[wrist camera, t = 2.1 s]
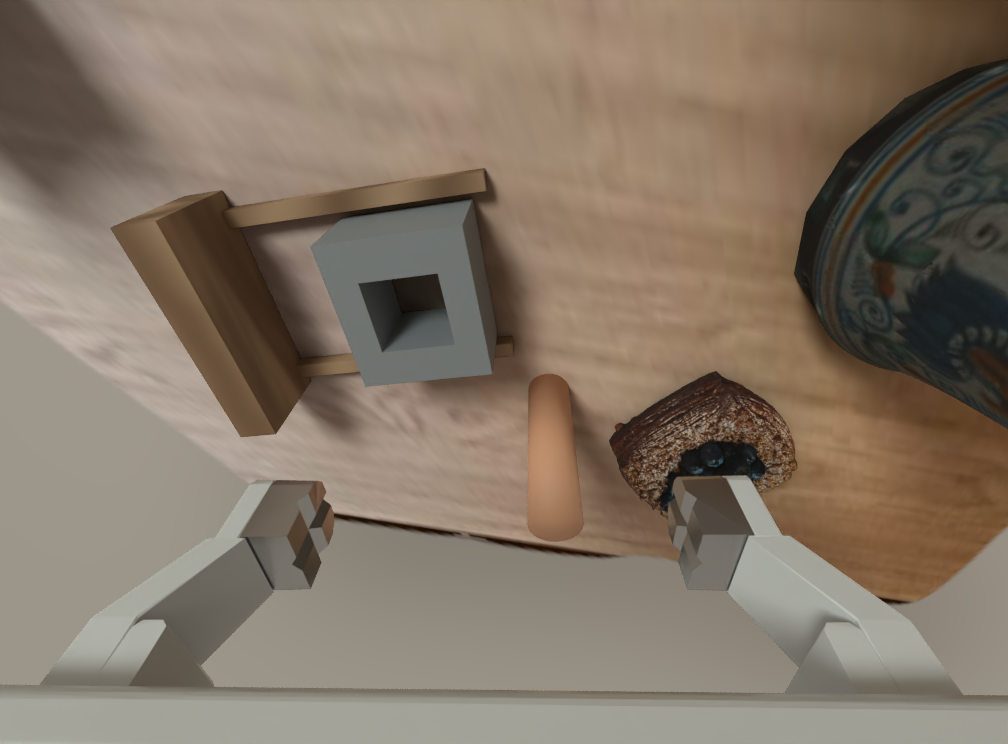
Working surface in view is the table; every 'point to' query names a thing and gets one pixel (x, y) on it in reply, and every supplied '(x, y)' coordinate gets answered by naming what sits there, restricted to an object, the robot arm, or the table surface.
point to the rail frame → (250, 290)
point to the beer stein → (921, 241)
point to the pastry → (703, 440)
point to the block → (373, 303)
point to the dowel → (552, 462)
